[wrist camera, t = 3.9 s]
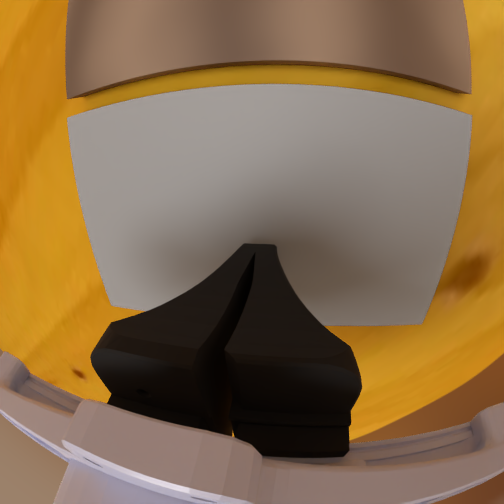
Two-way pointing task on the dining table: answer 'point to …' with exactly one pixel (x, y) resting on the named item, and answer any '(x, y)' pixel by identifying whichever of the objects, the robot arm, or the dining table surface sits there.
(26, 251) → the dining table surface
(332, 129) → the grey plank
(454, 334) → the dining table surface
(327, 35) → the walnut board
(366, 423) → the dining table surface
